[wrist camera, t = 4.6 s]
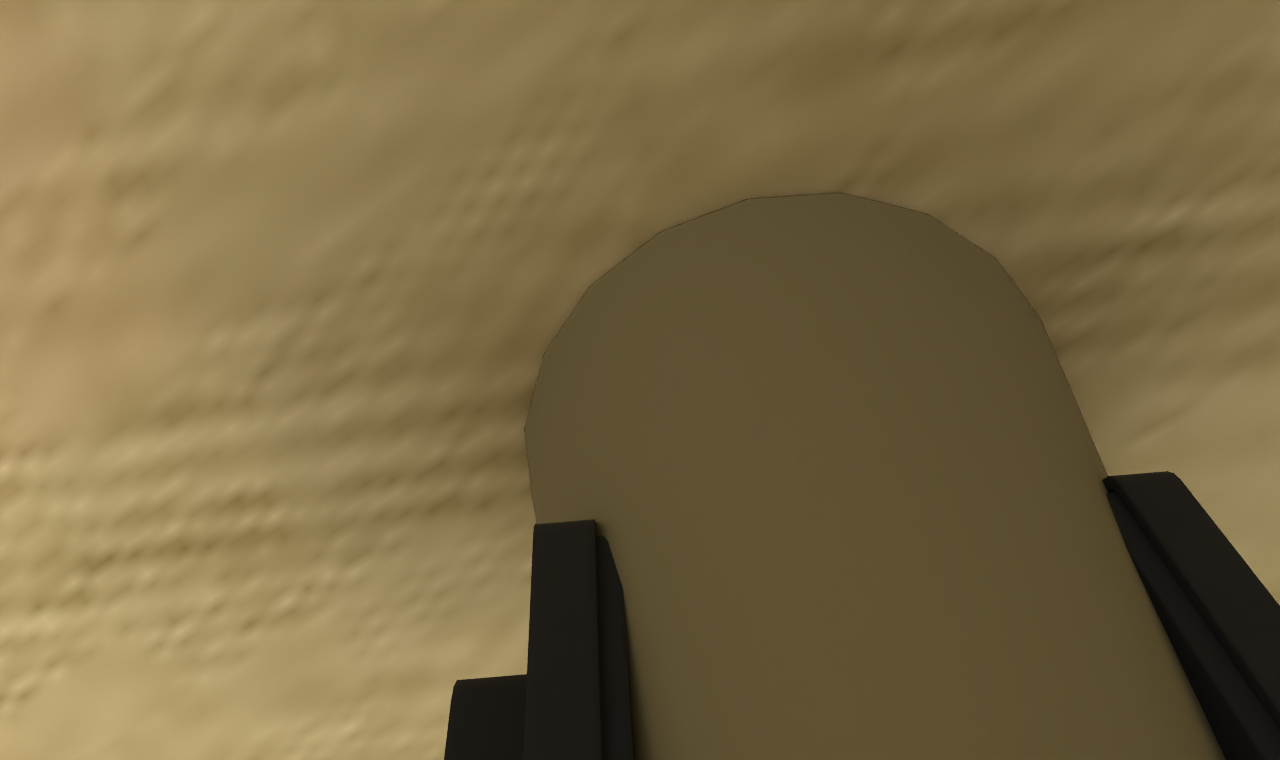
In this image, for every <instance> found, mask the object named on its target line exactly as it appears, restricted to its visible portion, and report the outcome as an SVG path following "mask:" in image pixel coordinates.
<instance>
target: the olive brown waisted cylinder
mask: <svg viewBox="0 0 1280 760" xmlns="http://www.w3.org/2000/svg"><path fill="white" fill-rule="evenodd" d="M524 430H525V439H526V448H527V456H528V465H529V474H530V482H531V491H532V499H533V505H534V511H535V516H536V522H537V524H543V523H555V522H567V521H579V520H591V519H595V522H596V533H595V535H601V536H605V537H606V539H607V540H608V543H609V546H610V549H611V552H612V555H613V558H614V561H615V565H616V568H617V571H618V574H619V577H620V580H621V583H622V587H623V596H624V611H625V626H626V642H627V657H628V672H629V687H630V702H631V717H632V732H633V747H634V760H1226V759H1225V756H1224V754H1223V752H1222V750H1221V748H1220V746H1219V744H1218V742H1217V739H1216V737H1215V735H1214V733H1213V731H1212V729H1211V727H1210V725H1209V722H1208V720H1207V718H1206V716H1205V714H1204V712H1203V710H1202V708H1201V705H1200V703H1199V701H1198V699H1197V697H1196V695H1195V693H1194V691H1193V688H1192V686H1191V684H1190V682H1189V680H1188V678H1187V676H1186V674H1185V671H1184V669H1183V667H1182V665H1181V663H1180V661H1179V659H1178V657H1177V654H1176V652H1175V650H1174V648H1173V646H1172V644H1171V642H1170V640H1169V637H1168V635H1167V633H1166V631H1165V629H1164V627H1163V625H1162V622H1161V620H1160V618H1159V616H1158V614H1157V612H1156V610H1155V608H1154V605H1153V603H1152V601H1151V599H1150V597H1149V595H1148V593H1147V591H1146V588H1145V586H1144V584H1143V582H1142V580H1141V578H1140V576H1139V574H1138V571H1137V569H1136V567H1135V565H1134V563H1133V561H1132V559H1131V557H1130V554H1129V552H1128V550H1127V548H1126V545H1125V543H1124V540H1123V538H1122V535H1121V532H1120V530H1119V527H1118V525H1117V522H1116V520H1115V517H1114V514H1113V512H1112V509H1111V507H1110V504H1109V502H1108V499H1107V495H1106V494H1107V493H1109V492H1108V491H1107V490H1106V487H1105V485H1104V483H1103V481H1102V480H1103V479H1104V478H1106V477H1108V475H1107V472H1106V470H1105V468H1104V465H1103V463H1102V461H1101V458H1100V456H1099V454H1098V451H1097V449H1096V447H1095V444H1094V442H1093V440H1092V437H1091V435H1090V433H1089V430H1088V428H1087V426H1086V423H1085V421H1084V419H1083V416H1082V414H1081V412H1080V409H1079V407H1078V405H1077V402H1076V400H1075V398H1074V395H1073V393H1072V391H1071V388H1070V386H1069V384H1068V381H1067V379H1066V377H1065V374H1064V372H1063V370H1062V367H1061V365H1060V363H1059V360H1058V358H1057V356H1056V353H1055V351H1054V349H1053V346H1052V344H1051V342H1050V339H1049V337H1048V334H1047V332H1046V330H1045V327H1044V325H1043V323H1042V320H1041V319H1040V318H1039V316H1038V315H1037V314H1036V312H1035V311H1034V309H1033V308H1032V307H1031V305H1030V304H1029V303H1028V301H1027V300H1026V298H1025V297H1024V296H1023V294H1022V293H1021V292H1020V290H1019V289H1018V287H1017V286H1016V285H1015V283H1014V282H1013V281H1012V279H1011V278H1010V276H1009V275H1008V274H1007V272H1006V271H1005V270H1004V268H1003V267H1002V265H1001V264H1000V263H999V261H998V260H997V259H996V258H995V257H993V256H992V255H990V254H988V253H987V252H985V251H984V250H982V249H981V248H979V247H978V246H976V245H975V244H973V243H971V242H970V241H968V240H967V239H965V238H964V237H962V236H961V235H959V234H958V233H956V232H954V231H953V230H951V229H950V228H948V227H947V226H945V225H944V224H942V223H941V222H939V221H937V220H936V219H934V218H933V217H931V216H930V215H928V214H925V213H921V212H917V211H913V210H909V209H905V208H901V207H897V206H893V205H888V204H884V203H880V202H876V201H872V200H868V199H864V198H860V197H856V196H852V195H847V194H843V193H832V194H818V195H803V196H788V197H773V198H758V199H747V200H745V201H742V202H739V203H737V204H734V205H731V206H729V207H726V208H723V209H721V210H718V211H715V212H713V213H710V214H707V215H705V216H702V217H699V218H697V219H694V220H691V221H689V222H686V223H684V224H681V225H678V226H676V227H673V228H670V229H668V230H665V231H662V232H660V233H659V234H658V235H656V236H655V237H654V238H652V239H651V240H650V241H648V242H647V243H646V244H645V245H643V246H642V247H641V248H639V249H638V250H637V251H636V252H634V253H633V254H632V255H630V256H629V257H628V258H626V259H625V260H624V261H623V262H621V263H620V264H619V265H617V266H616V267H615V268H613V269H612V270H611V271H610V272H608V273H607V274H606V275H604V276H603V277H602V278H601V279H599V280H598V281H597V282H595V283H594V284H593V285H591V286H590V287H589V289H588V290H587V292H586V293H585V295H584V296H583V298H582V299H581V301H580V302H579V303H578V305H577V306H576V308H575V309H574V311H573V312H572V314H571V315H570V317H569V318H568V320H567V321H566V323H565V324H564V325H563V327H562V328H561V330H560V331H559V333H558V334H557V336H556V337H555V339H554V340H553V342H552V343H551V345H550V346H549V348H548V349H547V350H546V352H545V353H544V355H543V358H542V362H541V366H540V370H539V374H538V378H537V382H536V385H535V389H534V393H533V397H532V401H531V405H530V409H529V413H528V416H527V420H526V424H525V428H524Z"/></svg>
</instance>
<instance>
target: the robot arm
mask: <svg viewBox="0 0 1280 760" xmlns="http://www.w3.org/2000/svg"><path fill="white" fill-rule="evenodd" d="M1102 481H1103V483H1104V485H1105V487H1106V490H1107V491H1108V492H1109V493H1107V494H1106V495H1107V499H1108V502H1109V504H1110V507H1111V509H1112V512H1113V514H1114V517H1115V520H1116V522H1117V525H1118V527H1119V530H1120V532H1121V535H1122V538H1123V540H1124V543H1125V545H1126V548H1127V550H1128V552H1129V554H1130V557H1131V559H1132V561H1133V563H1134V565H1135V567H1136V569H1137V571H1138V574H1139V576H1140V578H1141V580H1142V582H1143V584H1144V586H1145V588H1146V591H1147V593H1148V595H1149V597H1150V599H1151V601H1152V603H1153V605H1154V608H1155V610H1156V612H1157V614H1158V616H1159V618H1160V620H1161V622H1162V625H1163V627H1164V629H1165V631H1166V633H1167V635H1168V637H1169V640H1170V642H1171V644H1172V646H1173V648H1174V650H1175V652H1176V654H1177V657H1178V659H1179V661H1180V663H1181V665H1182V667H1183V669H1184V671H1185V674H1186V676H1187V678H1188V680H1189V682H1190V684H1191V686H1192V688H1193V691H1194V693H1195V695H1196V697H1197V699H1198V701H1199V703H1200V705H1201V708H1202V710H1203V712H1204V714H1205V716H1206V718H1207V720H1208V722H1209V725H1210V727H1211V729H1212V731H1213V733H1214V735H1215V737H1216V739H1217V742H1218V744H1219V746H1220V748H1221V750H1222V752H1223V754H1224V756H1225V759H1226V760H1280V606H1279V604H1278V603H1277V602H1276V601H1275V599H1274V598H1273V597H1272V595H1271V594H1270V593H1269V592H1268V590H1267V589H1266V588H1265V587H1264V585H1263V584H1262V583H1261V581H1260V580H1259V579H1258V578H1257V576H1256V575H1255V574H1254V573H1253V571H1252V570H1251V569H1250V567H1249V566H1248V565H1247V564H1246V562H1245V561H1244V560H1243V558H1242V557H1241V556H1240V555H1239V553H1238V552H1237V551H1236V550H1235V548H1234V547H1233V546H1232V544H1231V543H1230V542H1229V541H1228V539H1227V538H1226V537H1225V536H1224V534H1223V533H1222V532H1221V530H1220V529H1219V528H1218V527H1217V525H1216V524H1215V523H1214V522H1213V520H1212V519H1211V518H1210V516H1209V515H1208V514H1207V513H1206V511H1205V510H1204V509H1203V507H1202V506H1201V505H1200V504H1199V502H1198V501H1197V500H1196V499H1195V497H1194V496H1193V495H1192V493H1191V492H1190V491H1189V490H1188V488H1187V487H1186V486H1185V485H1184V483H1183V482H1182V481H1181V479H1180V478H1178V477H1177V476H1176V475H1175V474H1174V473H1171V472H1167V471H1166V472H1154V473H1142V474H1130V475H1118V476H1108V477H1106V478H1104V479H1103V480H1102ZM595 533H596V522H595V519H591V520H579V521H567V522H555V523H543V524H535V525H534V532H533V553H532V576H531V598H530V621H529V643H528V665H527V674H525V675H513V676H502V677H490V678H478V679H466V680H457V681H456V683H455V685H454V688H453V693H452V699H451V706H450V715H449V723H448V731H447V740H446V748H445V756H444V760H634V747H633V732H632V717H631V702H630V687H629V672H628V657H627V642H626V626H625V611H624V596H623V587H622V583H621V580H620V577H619V574H618V571H617V568H616V565H615V561H614V558H613V555H612V552H611V549H610V546H609V543H608V540H607V539H606V537H605V536H601V535H595Z"/></svg>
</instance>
